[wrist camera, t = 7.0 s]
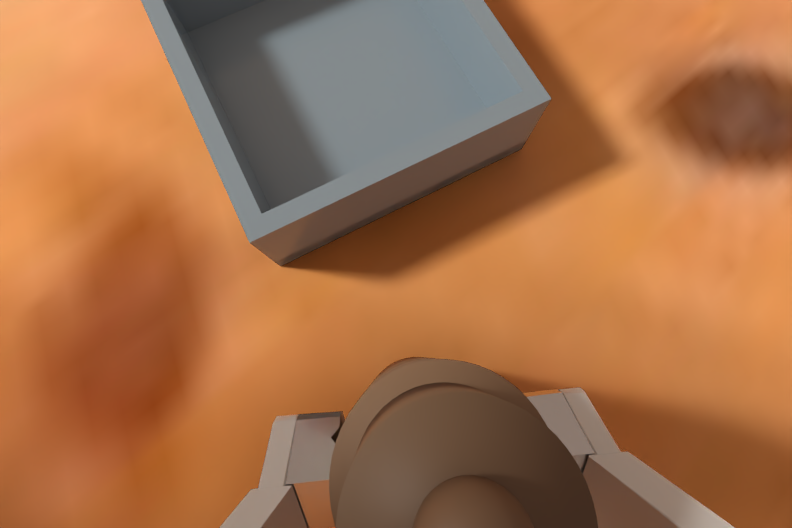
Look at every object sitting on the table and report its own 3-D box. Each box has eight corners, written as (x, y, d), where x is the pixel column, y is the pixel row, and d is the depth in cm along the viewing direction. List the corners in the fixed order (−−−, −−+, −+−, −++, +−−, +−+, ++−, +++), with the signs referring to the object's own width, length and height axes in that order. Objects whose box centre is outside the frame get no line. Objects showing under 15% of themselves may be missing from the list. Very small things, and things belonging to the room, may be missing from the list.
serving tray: (176, 38, 20) (127, -32, 17) (392, -51, 22) (391, -134, 18) (280, 266, 18) (249, 242, 14) (521, 149, 19) (551, 98, 15)
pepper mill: (348, 386, 16) (211, 480, 4) (437, 339, 16) (553, 296, 4) (394, 484, 15) (396, 976, 3) (486, 432, 15) (794, 691, 4)
